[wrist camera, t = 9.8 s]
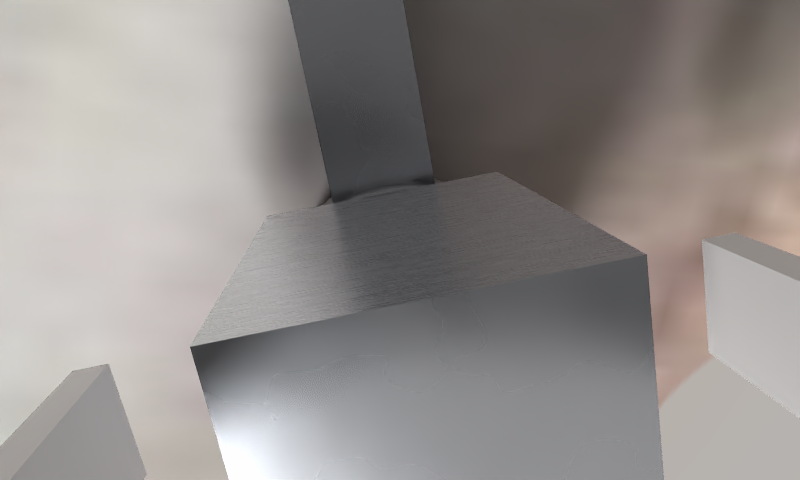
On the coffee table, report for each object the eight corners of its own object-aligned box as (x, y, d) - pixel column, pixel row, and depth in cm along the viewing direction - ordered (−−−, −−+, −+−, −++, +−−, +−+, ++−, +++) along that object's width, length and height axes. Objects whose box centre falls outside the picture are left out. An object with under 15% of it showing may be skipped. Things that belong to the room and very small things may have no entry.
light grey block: (267, 216, 15) (189, 346, 8) (497, 171, 16) (646, 254, 8) (317, 421, 17) (294, 703, 9) (525, 378, 17) (674, 617, 9)
